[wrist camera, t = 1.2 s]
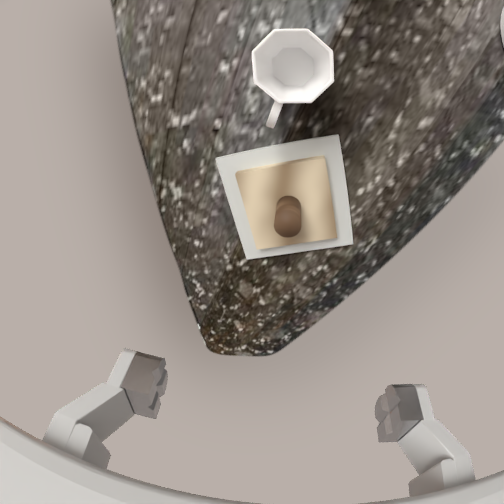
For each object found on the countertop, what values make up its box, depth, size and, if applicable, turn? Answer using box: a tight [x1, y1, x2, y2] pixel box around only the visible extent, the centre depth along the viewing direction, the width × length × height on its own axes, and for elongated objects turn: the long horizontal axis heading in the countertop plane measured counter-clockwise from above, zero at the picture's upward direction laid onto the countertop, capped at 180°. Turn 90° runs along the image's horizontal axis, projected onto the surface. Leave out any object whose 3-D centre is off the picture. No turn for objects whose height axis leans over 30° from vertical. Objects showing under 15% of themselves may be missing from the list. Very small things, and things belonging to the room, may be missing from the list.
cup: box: [252, 29, 334, 129], centre depth 25 cm, size 7×10×8 cm
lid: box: [235, 155, 337, 250], centre depth 34 cm, size 10×10×6 cm
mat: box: [216, 134, 353, 259], centre depth 36 cm, size 14×14×1 cm
